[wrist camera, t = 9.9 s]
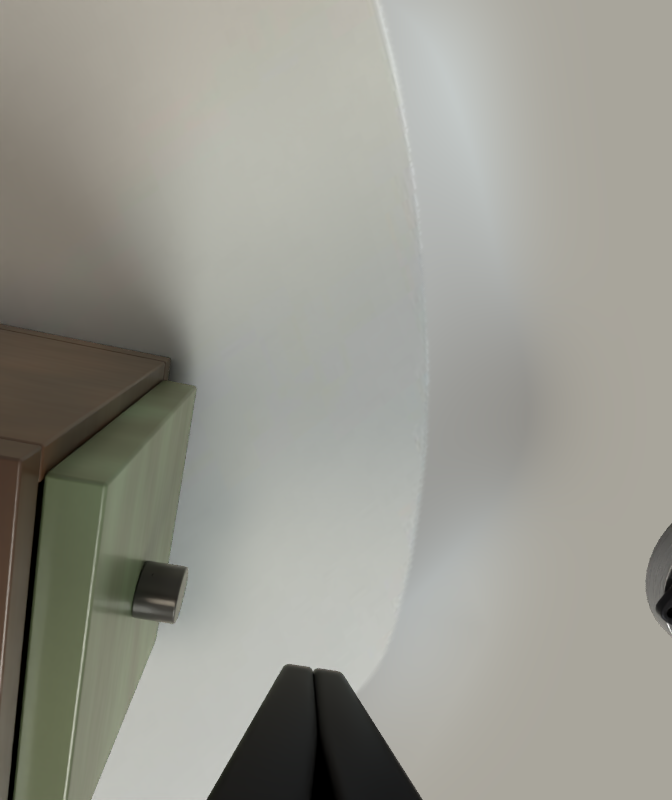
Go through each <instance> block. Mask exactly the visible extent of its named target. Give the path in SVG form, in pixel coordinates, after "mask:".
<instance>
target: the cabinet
mask: <svg viewBox="0 0 672 800" xmlns="http://www.w3.org/2000/svg"><path fill="white" fill-rule="evenodd" d="M170 363H171V359H170V358H168V357H163V356H158V355H153V354H148V353H143V352H138V351H133V350H128V349H123V348H118V347H113V346H108V345H103V344H98V343H93V342H88V341H83V340H78V339H73V338H68V337H63V336H58V335H53V334H48V333H43V332H38V331H33V330H28V329H23V328H18V327H13V326H8V325H3V324H0V800H13V791H14V781H15V771H16V761H17V751H18V741H19V734H18V736H17V737H16V739H15V741H14V742H13V738H14V727H15V717H16V707H17V696H18V686H19V676H20V665H21V655H22V645H23V635H24V624H25V614H26V604H27V593H28V583H29V573H30V563H31V552H32V542H33V532H34V521H35V511H36V501H37V490H38V482H41V481H42V480H43V479H44V478H45V475H46V473H47V472H48V471H50V470H51V469H52V468H53V467H55V466H56V465H57V464H58V463H60V462H61V461H62V460H63V459H65V458H66V457H67V456H68V455H70V454H71V453H72V452H73V451H75V450H76V449H77V448H78V447H80V446H81V445H82V444H84V443H85V442H86V441H87V440H89V439H90V438H91V437H92V436H94V435H95V434H96V433H97V432H99V431H100V430H101V429H102V428H104V427H105V426H106V425H107V424H109V423H110V422H111V421H112V420H114V419H115V418H116V417H118V416H119V415H120V414H121V413H123V412H124V411H125V410H126V409H128V408H129V407H130V406H131V405H133V404H134V403H135V402H136V401H138V400H139V399H140V398H141V397H143V396H144V395H145V394H146V393H148V392H149V391H150V390H152V389H153V388H154V387H155V386H157V385H158V384H159V383H160V382H162V381H163V380H167V381H168V377H169V370H170Z"/></svg>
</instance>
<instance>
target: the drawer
mask: <svg viewBox="0 0 672 800" xmlns="http://www.w3.org/2000/svg"><path fill="white" fill-rule="evenodd" d="M196 390H197V389H196V387H195V386H193V385H187V384H182V383H177V382H172V381H167V380H163V381H162V382H160V383H159V384H158V385H157V386H155V387H154V388H153V389H152V390H150V391H149V392H148V393H146V394H145V395H144V396H143V397H141V398H140V399H139V400H138V401H136V402H135V403H134V404H133V405H131V406H130V407H129V408H128V409H126V410H125V411H124V412H123V413H121V414H120V415H119V416H118V417H116V418H115V419H114V420H112V421H111V422H110V423H109V424H107V425H106V426H105V427H104V428H102V429H101V430H100V431H99V432H97V433H96V434H95V435H94V436H92V437H91V438H90V439H89V440H87V441H86V442H85V443H84V444H82V445H81V446H80V447H78V448H77V449H76V450H75V451H73V452H72V453H71V454H70V455H68V456H67V457H66V458H65V459H63V460H62V461H61V462H60V463H58V464H57V465H56V466H55V467H53V468H52V469H51V470H50V471H48V472H47V473H46V475H45V478H44V479H43V480H42V481H41V482H38V490H37V501H36V511H35V521H34V532H33V542H32V552H31V563H30V573H29V583H28V593H27V604H26V614H25V624H24V635H23V645H22V655H21V665H20V676H19V686H18V696H17V707H16V717H15V727H14V738H13V742H14V741H15V739H16V737H17V736H18V734H19V741H18V751H17V761H16V771H15V781H14V791H13V800H91V799H92V796H93V794H94V791H95V789H96V786H97V784H98V781H99V779H100V776H101V774H102V772H103V769H104V767H105V764H106V762H107V759H108V757H109V754H110V752H111V749H112V747H113V744H114V742H115V739H116V737H117V735H118V732H119V730H120V727H121V725H122V722H123V720H124V717H125V715H126V712H127V710H128V707H129V705H130V702H131V700H132V698H133V695H134V693H135V690H136V688H137V685H138V683H139V680H140V678H141V675H142V673H143V670H144V668H145V665H146V663H147V661H148V658H149V656H150V653H151V651H152V648H153V646H154V643H155V641H156V637H157V631H158V625H159V622H163V623H170V624H174V623H175V622H176V620H177V618H178V615H179V612H180V609H181V605H182V602H183V598H184V594H185V589H186V584H187V578H188V567H185V566H179V565H173V564H168V563H169V557H170V550H171V544H172V538H173V532H174V526H175V519H176V513H177V507H178V501H179V495H180V488H181V482H182V476H183V470H184V464H185V458H186V451H187V445H188V439H189V433H190V427H191V420H192V414H193V408H194V402H195V396H196Z"/></svg>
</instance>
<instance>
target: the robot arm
mask: <svg viewBox="0 0 672 800" xmlns="http://www.w3.org/2000/svg"><path fill="white" fill-rule="evenodd" d="M670 608H672V585H671V587H670V588H669V589H668V590H667V591H666V593H665V594H664V595H663V596H662V597H661V598H660V600H659V601H658V602H657V604H656V607H655V610H656V613H657V614H658V615H659V616H660V617H661V618H662V619H663V620H664V621H665V622H667V623H669V624H670V625H672V609H671V610H670V611H668V609H670ZM667 611H668V612H667ZM207 800H422V798H421V797H420V795H419V793H418V792H417V790H416V789H415V787H414V786H413V784H412V782H411V781H410V779H409V778H408V776H407V775H406V773H405V771H404V770H403V768H402V767H401V765H400V763H399V762H398V760H397V759H396V757H395V756H394V754H393V752H392V751H391V749H390V748H389V746H388V745H387V743H386V741H385V740H384V738H383V737H382V735H381V734H380V732H379V730H378V729H377V727H376V726H375V724H374V722H373V721H372V719H371V718H370V716H369V715H368V713H367V712H366V710H365V708H364V707H363V705H362V704H361V702H360V700H359V699H358V698H357V696H356V694H355V693H354V691H353V689H352V688H351V686H350V685H349V683H348V681H347V680H346V678H345V677H344V675H343V674H342V673H341V672H338V671H333V670H326V669H319V668H317V669H315V670H314V671H312V669H311V668H310V667H306V666H299V665H292V664H287V665H285V666H284V667H283V668H282V670H281V672H280V674H279V675H278V677H277V679H276V680H275V682H274V684H273V686H272V687H271V689H270V691H269V693H268V694H267V696H266V698H265V700H264V701H263V703H262V705H261V706H260V708H259V710H258V712H257V713H256V715H255V717H254V719H253V720H252V722H251V724H250V725H249V727H248V729H247V731H246V732H245V734H244V736H243V738H242V739H241V741H240V743H239V745H238V746H237V748H236V750H235V751H234V753H233V755H232V757H231V758H230V760H229V762H228V764H227V765H226V767H225V769H224V771H223V772H222V774H221V776H220V777H219V779H218V781H217V783H216V784H215V786H214V788H213V790H212V791H211V793H210V795H209V796H208V798H207Z"/></svg>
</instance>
